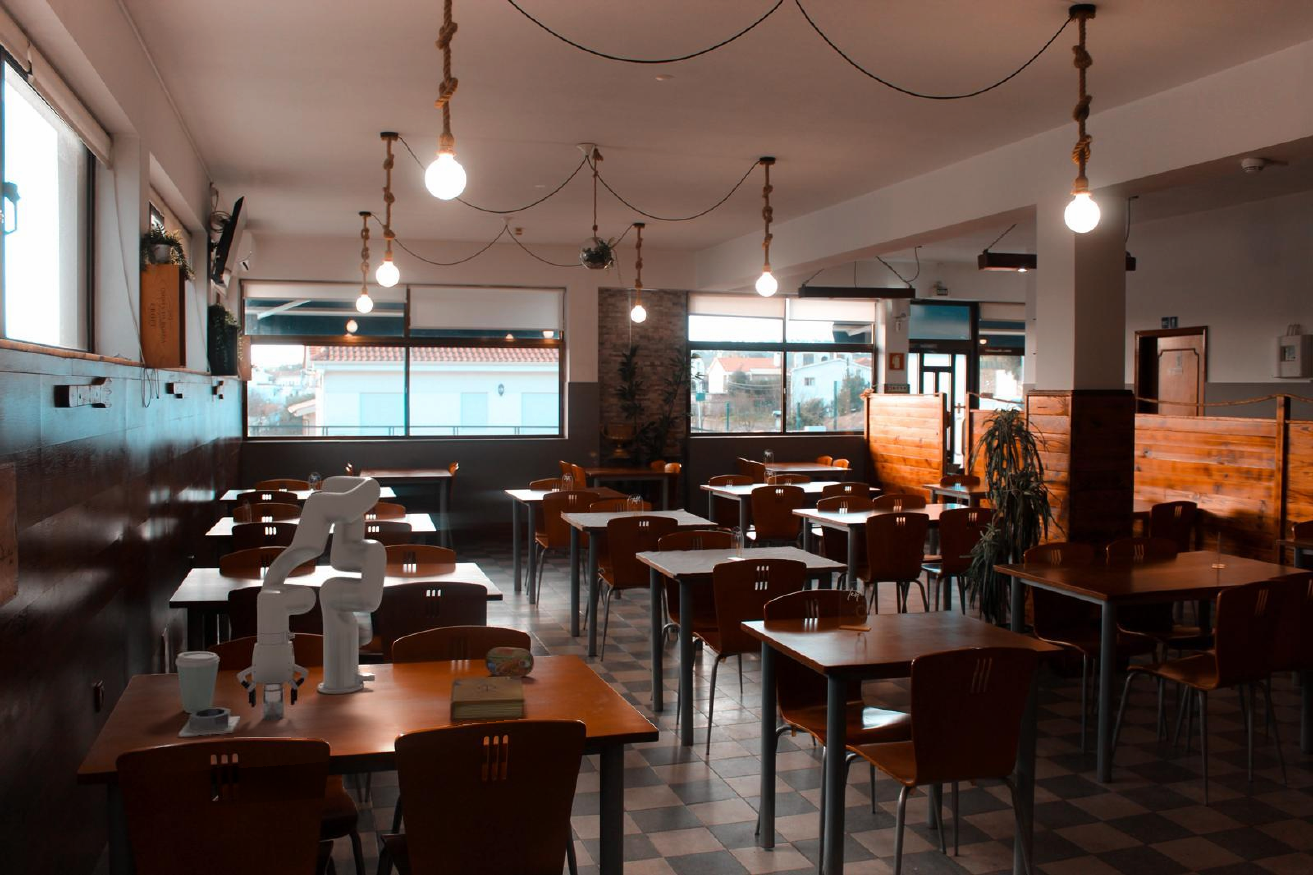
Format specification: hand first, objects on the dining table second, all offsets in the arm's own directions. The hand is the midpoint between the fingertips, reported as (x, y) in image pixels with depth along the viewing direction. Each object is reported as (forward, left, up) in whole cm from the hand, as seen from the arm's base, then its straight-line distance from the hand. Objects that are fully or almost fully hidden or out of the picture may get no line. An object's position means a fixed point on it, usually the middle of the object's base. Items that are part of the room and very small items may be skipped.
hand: (273, 704), depth 266 cm
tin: (-63, -30, -4) cm, 70 cm away
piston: (0, 0, -3) cm, 3 cm away
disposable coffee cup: (+20, -11, -3) cm, 23 cm away
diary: (-54, +2, -4) cm, 54 cm away
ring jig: (+14, +6, -3) cm, 16 cm away
